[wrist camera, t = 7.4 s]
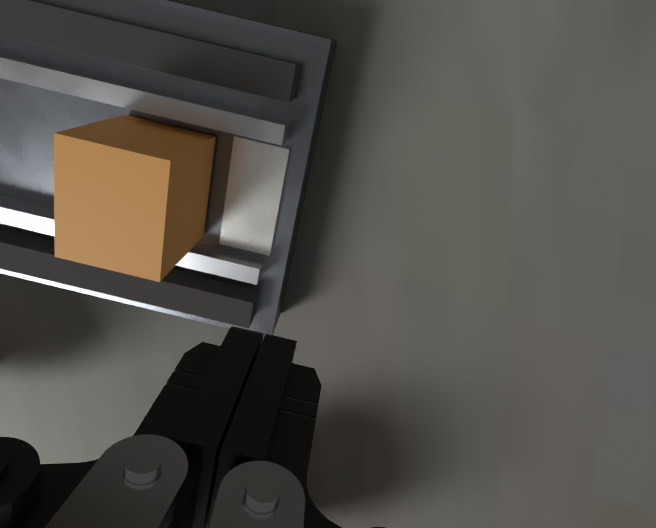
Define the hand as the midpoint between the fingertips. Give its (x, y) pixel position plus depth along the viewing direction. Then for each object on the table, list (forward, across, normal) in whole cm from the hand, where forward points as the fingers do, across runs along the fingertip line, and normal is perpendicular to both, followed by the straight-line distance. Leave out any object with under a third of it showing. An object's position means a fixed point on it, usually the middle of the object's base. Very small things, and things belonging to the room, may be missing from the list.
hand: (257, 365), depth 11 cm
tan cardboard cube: (+12, +7, 0) cm, 14 cm away
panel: (+14, +11, 0) cm, 18 cm away
